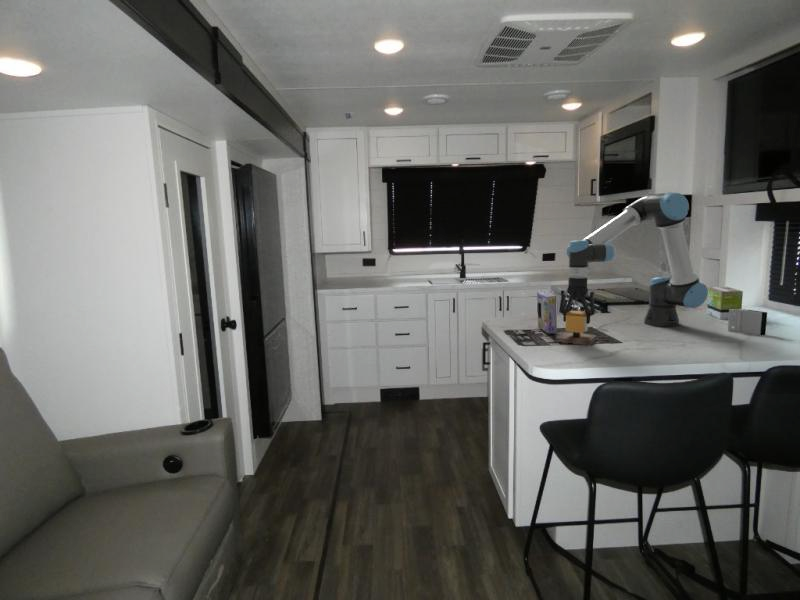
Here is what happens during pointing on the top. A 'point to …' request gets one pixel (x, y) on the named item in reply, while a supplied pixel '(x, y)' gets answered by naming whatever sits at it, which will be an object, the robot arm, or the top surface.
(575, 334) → the post
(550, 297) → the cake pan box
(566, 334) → the base plate
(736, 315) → the gray black rectangular block
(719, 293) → the tea box
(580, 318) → the orange cube block
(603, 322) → the top surface
